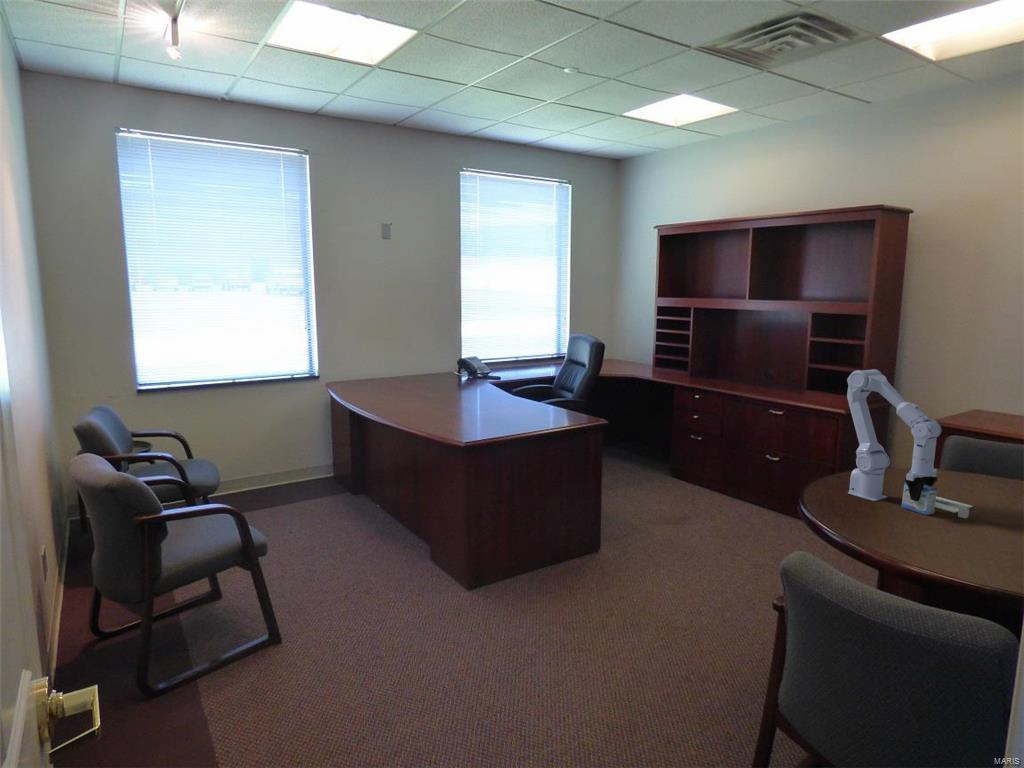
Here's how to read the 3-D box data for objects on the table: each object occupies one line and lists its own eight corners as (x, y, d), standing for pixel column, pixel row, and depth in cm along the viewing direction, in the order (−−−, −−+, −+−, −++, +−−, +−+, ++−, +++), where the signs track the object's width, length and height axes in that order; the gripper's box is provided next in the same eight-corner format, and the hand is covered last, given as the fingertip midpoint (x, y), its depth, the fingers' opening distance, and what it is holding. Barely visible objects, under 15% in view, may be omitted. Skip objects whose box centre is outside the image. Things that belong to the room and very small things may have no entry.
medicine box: (900, 507, 197) (903, 482, 196) (909, 505, 199) (912, 480, 197) (926, 515, 190) (929, 489, 188) (934, 513, 192) (937, 487, 190)
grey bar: (905, 494, 203) (905, 491, 203) (907, 493, 203) (907, 490, 203) (966, 510, 187) (967, 507, 187) (968, 510, 188) (968, 506, 188)
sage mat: (908, 500, 204) (908, 499, 204) (926, 494, 210) (926, 493, 210) (954, 513, 192) (954, 512, 192) (972, 506, 198) (972, 505, 198)
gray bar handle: (904, 501, 203) (904, 494, 203) (907, 500, 204) (907, 493, 204) (965, 518, 187) (966, 510, 187) (968, 517, 188) (969, 509, 188)
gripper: (925, 464, 185) (920, 506, 187) (948, 458, 192) (944, 498, 194) (900, 458, 191) (896, 499, 193) (924, 453, 198) (920, 492, 200)
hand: (918, 499), depth 194 cm, fingers closed on medicine box, 5 cm apart
